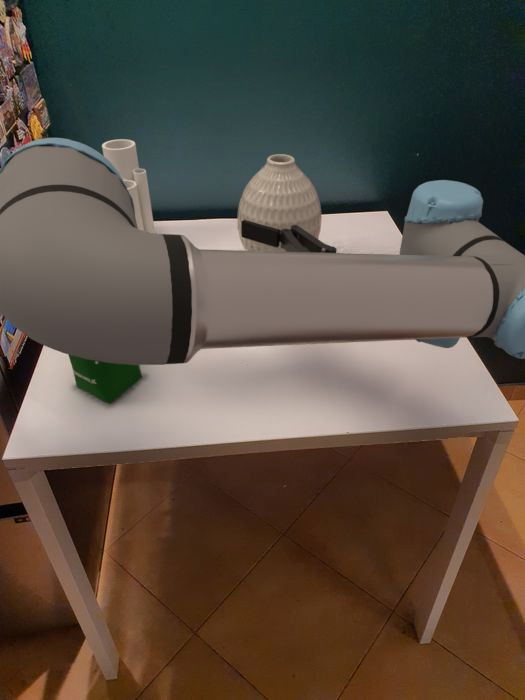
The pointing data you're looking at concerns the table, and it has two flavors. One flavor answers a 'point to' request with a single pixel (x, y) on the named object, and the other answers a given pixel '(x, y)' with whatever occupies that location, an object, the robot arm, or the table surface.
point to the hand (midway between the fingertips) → (217, 245)
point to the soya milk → (104, 377)
